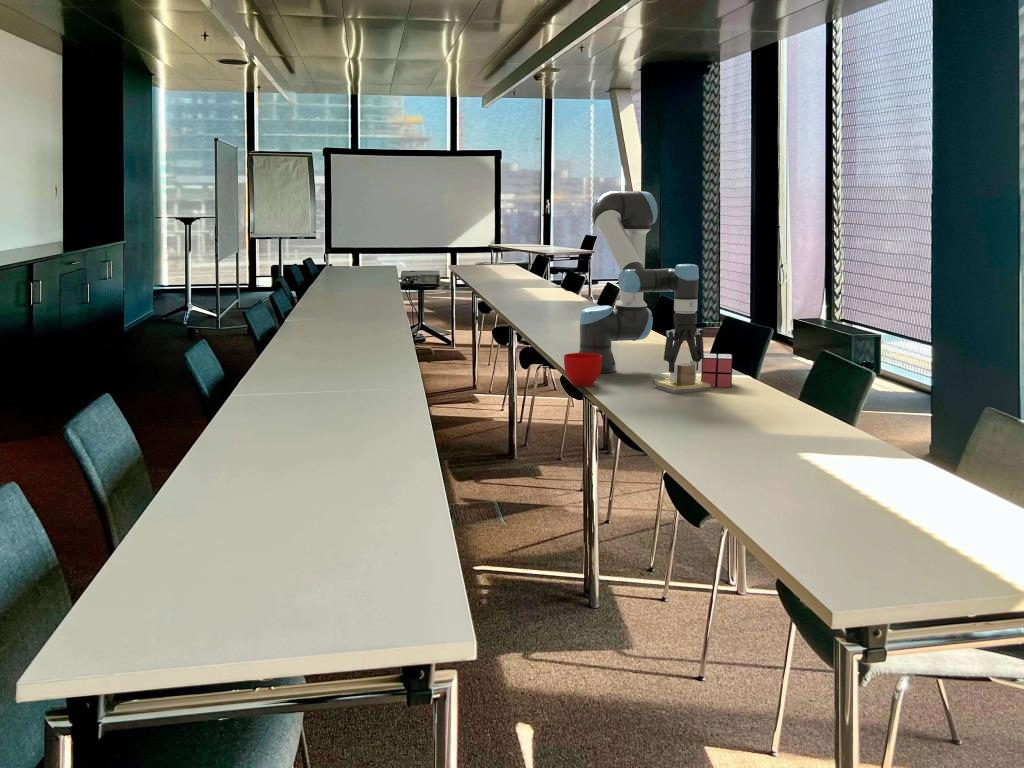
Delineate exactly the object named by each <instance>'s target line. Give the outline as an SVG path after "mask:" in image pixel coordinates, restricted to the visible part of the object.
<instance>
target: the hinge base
mask: <svg viewBox="0 0 1024 768" xmlns="http://www.w3.org/2000/svg"><path fill="white" fill-rule="evenodd" d="M661 380H664V379H663V378H654V379H652V382H651V383H652V385H654V386H655V387H654V388H655V389H658V390H661V391H664V392H668V393H671V394H674V395H675V394H685V393H697V392H706V391H707V392H708V391H711V387H702V388H692V389H681V390H672V389H669V388H666V387H663V386H659V385H656V381H661Z"/></svg>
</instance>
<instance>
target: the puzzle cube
mask: <svg viewBox="0 0 1024 768" xmlns="http://www.w3.org/2000/svg"><path fill="white" fill-rule="evenodd" d="M700 381H703V382H707V383H710V388H719V389H721V388H722V389H731V388H732V384H733V355H732V354H730V353H718V354H717V353H704V358H703V359H701V376H700Z"/></svg>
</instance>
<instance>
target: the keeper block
mask: <svg viewBox="0 0 1024 768" xmlns="http://www.w3.org/2000/svg"><path fill="white" fill-rule="evenodd" d="M677 383H679V384H693V383H695V365H692V364H690V363H687V362H682V363H677Z"/></svg>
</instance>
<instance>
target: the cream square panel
mask: <svg viewBox="0 0 1024 768" xmlns="http://www.w3.org/2000/svg"><path fill="white" fill-rule="evenodd" d="M663 379H664V380H661V381H656V385H659V386H663V387H666V388H669V389H672V390H681V389H692V388H702V387H710V383H707V382H703V381H701V379H696V381H695V383H693V384H679V383H673V382H670V377H665V378H663ZM710 388H711V387H710Z"/></svg>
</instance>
